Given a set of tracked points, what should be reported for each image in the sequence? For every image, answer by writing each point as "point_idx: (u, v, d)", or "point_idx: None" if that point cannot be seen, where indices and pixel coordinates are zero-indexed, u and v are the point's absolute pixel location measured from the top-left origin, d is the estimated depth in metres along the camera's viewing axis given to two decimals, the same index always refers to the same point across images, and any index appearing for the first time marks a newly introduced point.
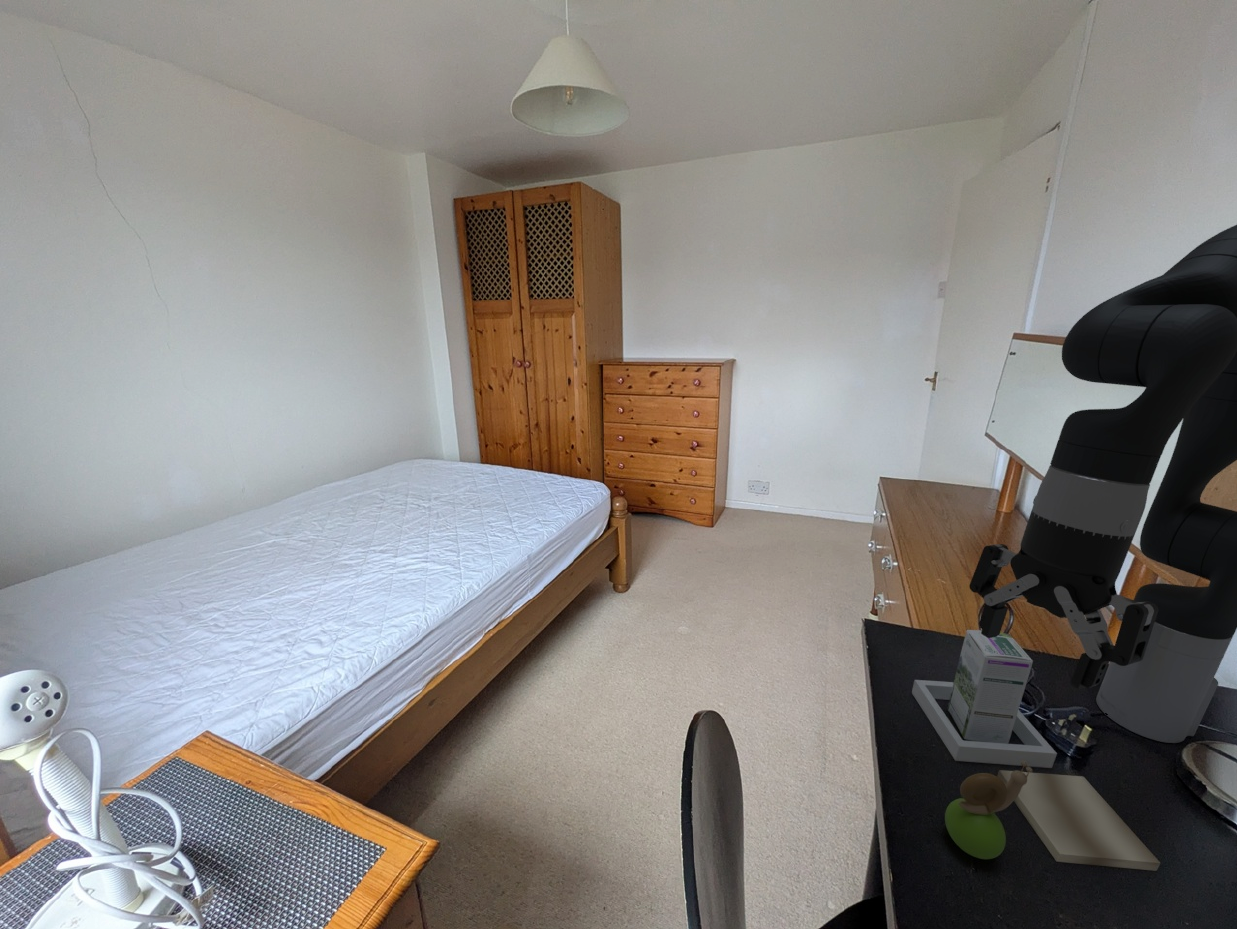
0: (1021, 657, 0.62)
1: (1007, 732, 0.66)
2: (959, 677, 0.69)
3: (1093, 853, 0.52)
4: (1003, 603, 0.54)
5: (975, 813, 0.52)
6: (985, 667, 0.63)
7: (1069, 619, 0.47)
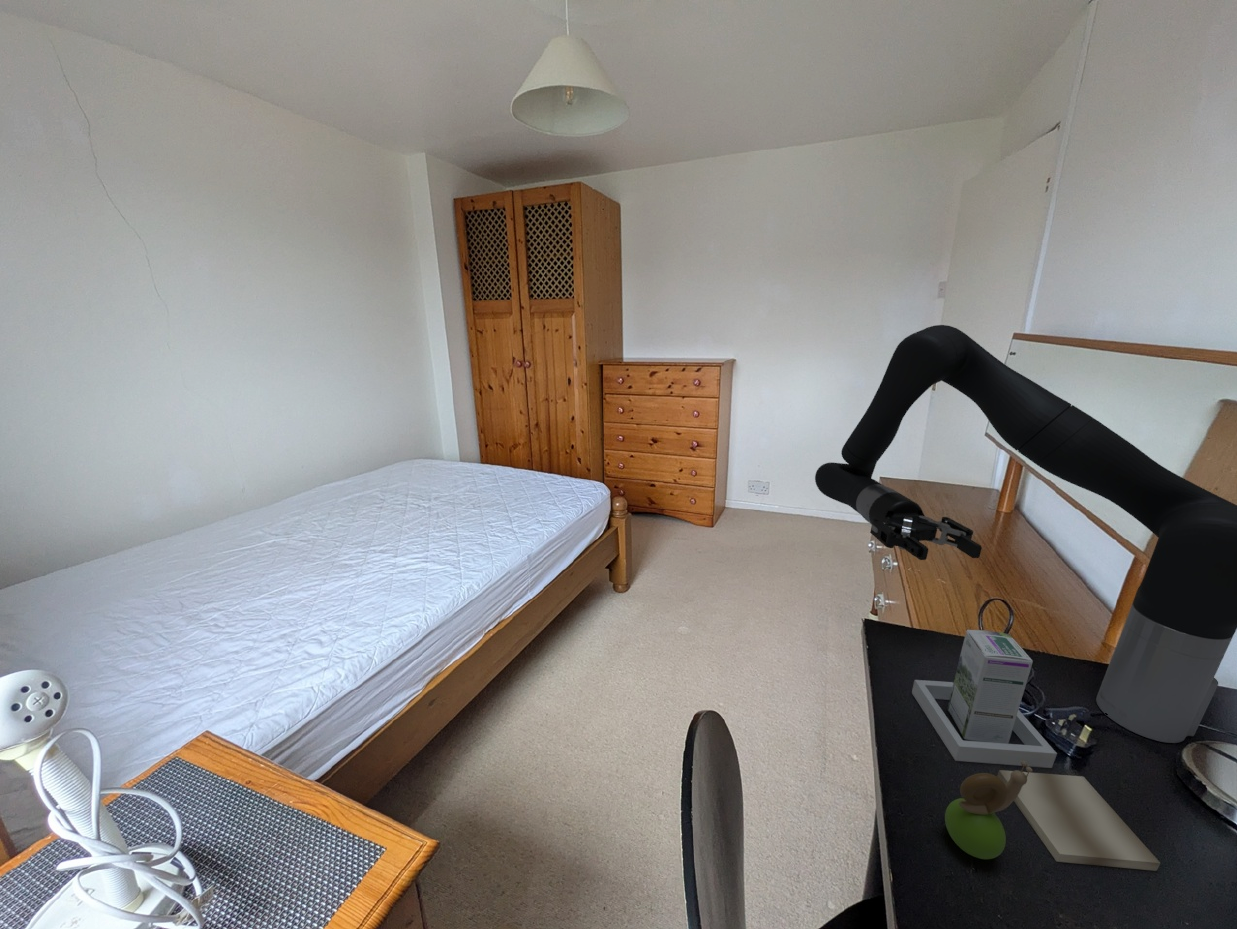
0: (1021, 657, 0.62)
1: (1007, 732, 0.66)
2: (959, 677, 0.69)
3: (1093, 853, 0.52)
4: (957, 538, 0.77)
5: (975, 813, 0.52)
6: (985, 667, 0.63)
7: None
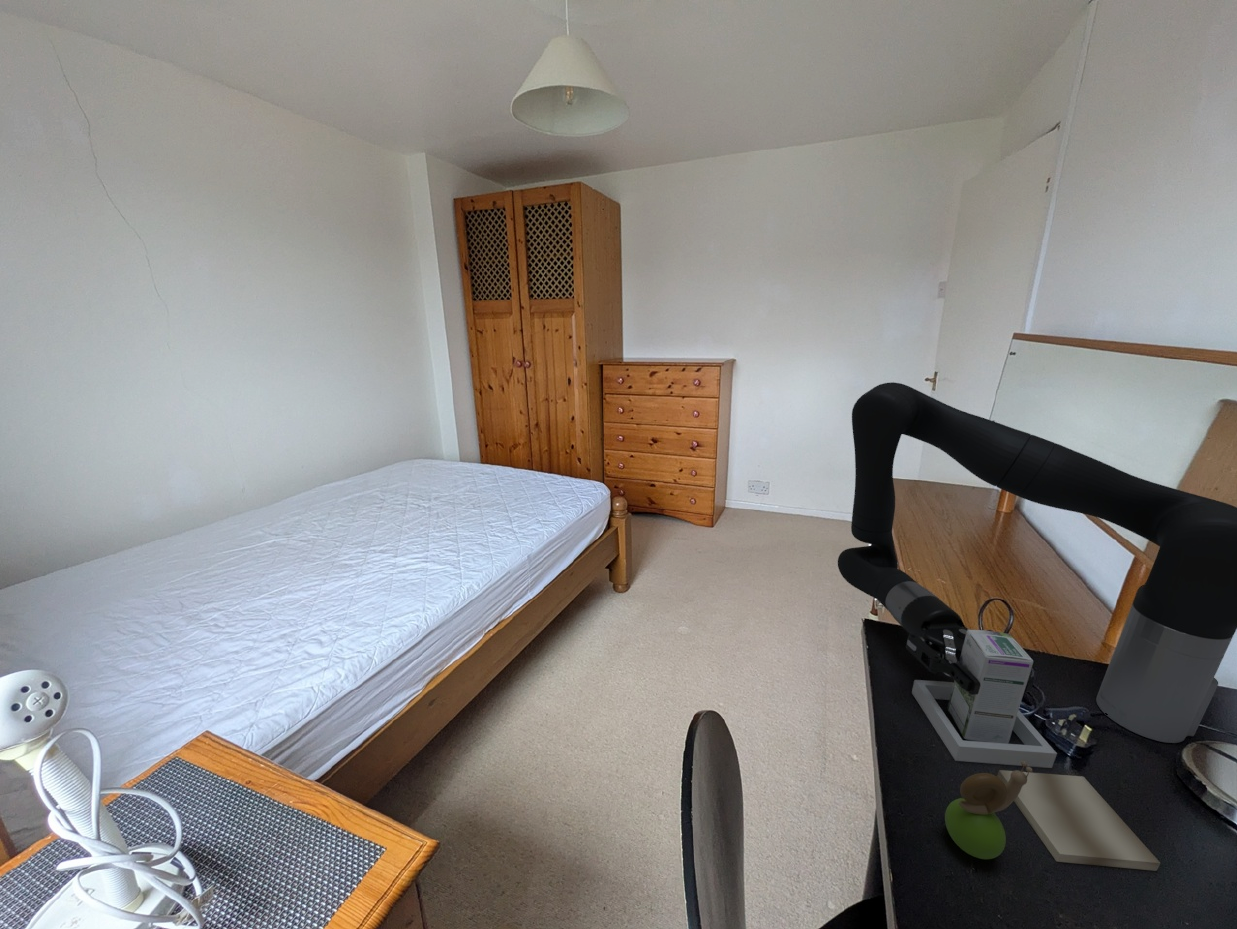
0: (1022, 657, 0.62)
1: (1007, 732, 0.66)
2: None
3: (1093, 853, 0.52)
4: None
5: (975, 813, 0.52)
6: (986, 667, 0.63)
7: None
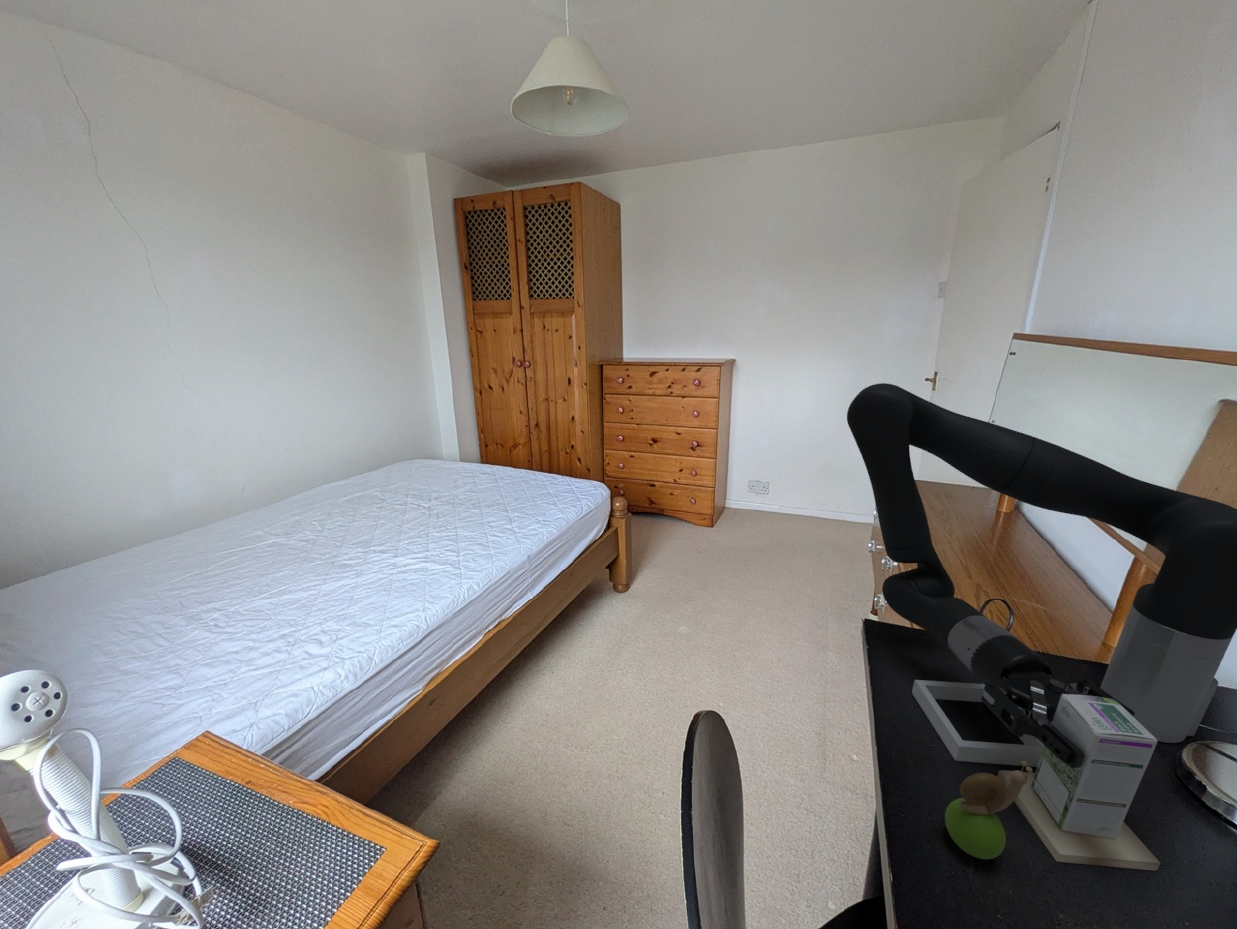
0: (1142, 735, 0.49)
1: (1117, 823, 0.53)
2: None
3: (1093, 853, 0.52)
4: None
5: (975, 813, 0.52)
6: (1096, 747, 0.50)
7: None
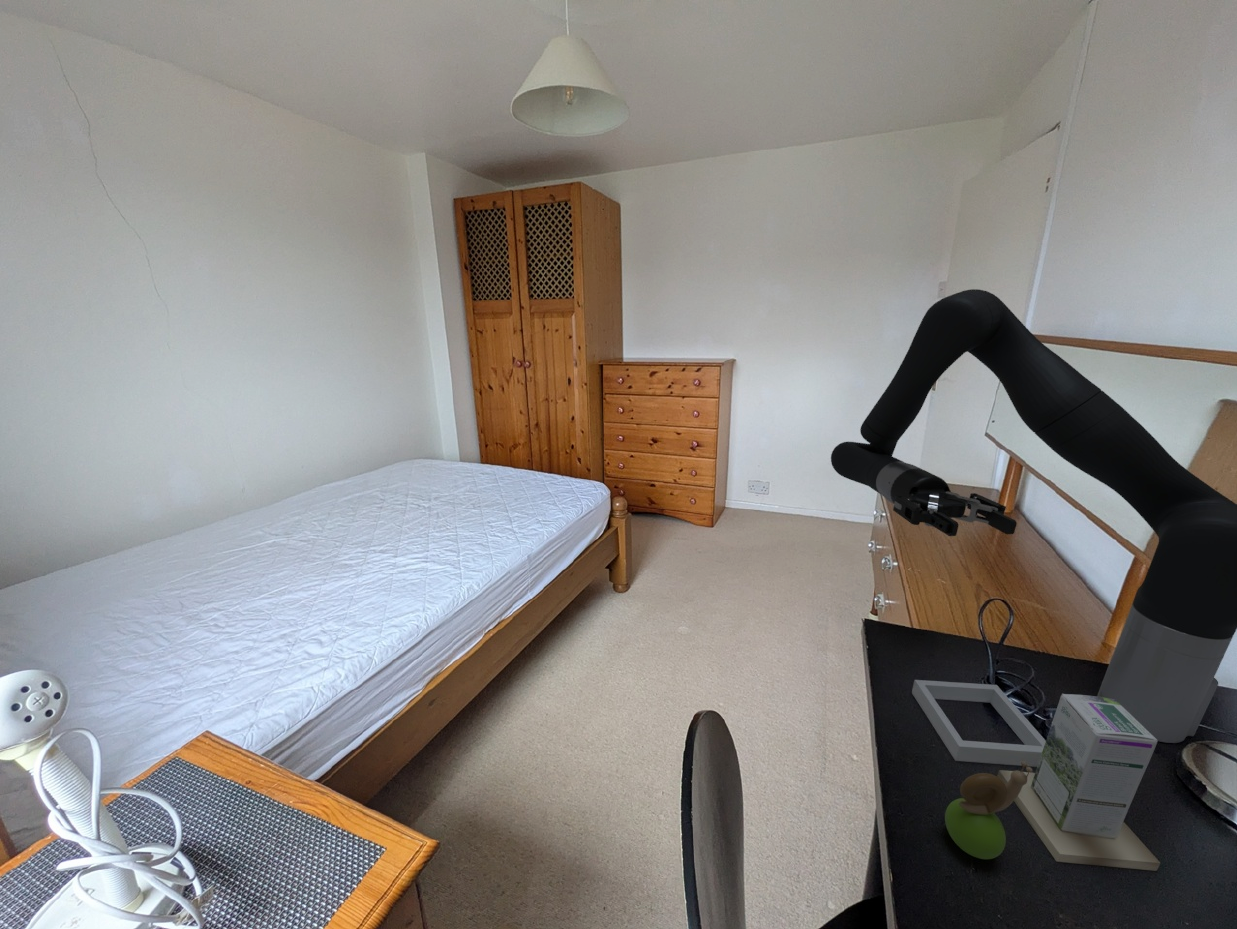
0: (1142, 735, 0.49)
1: (1117, 823, 0.53)
2: (1051, 751, 0.56)
3: (1093, 853, 0.52)
4: (988, 514, 0.72)
5: (975, 813, 0.52)
6: (1096, 747, 0.50)
7: None
